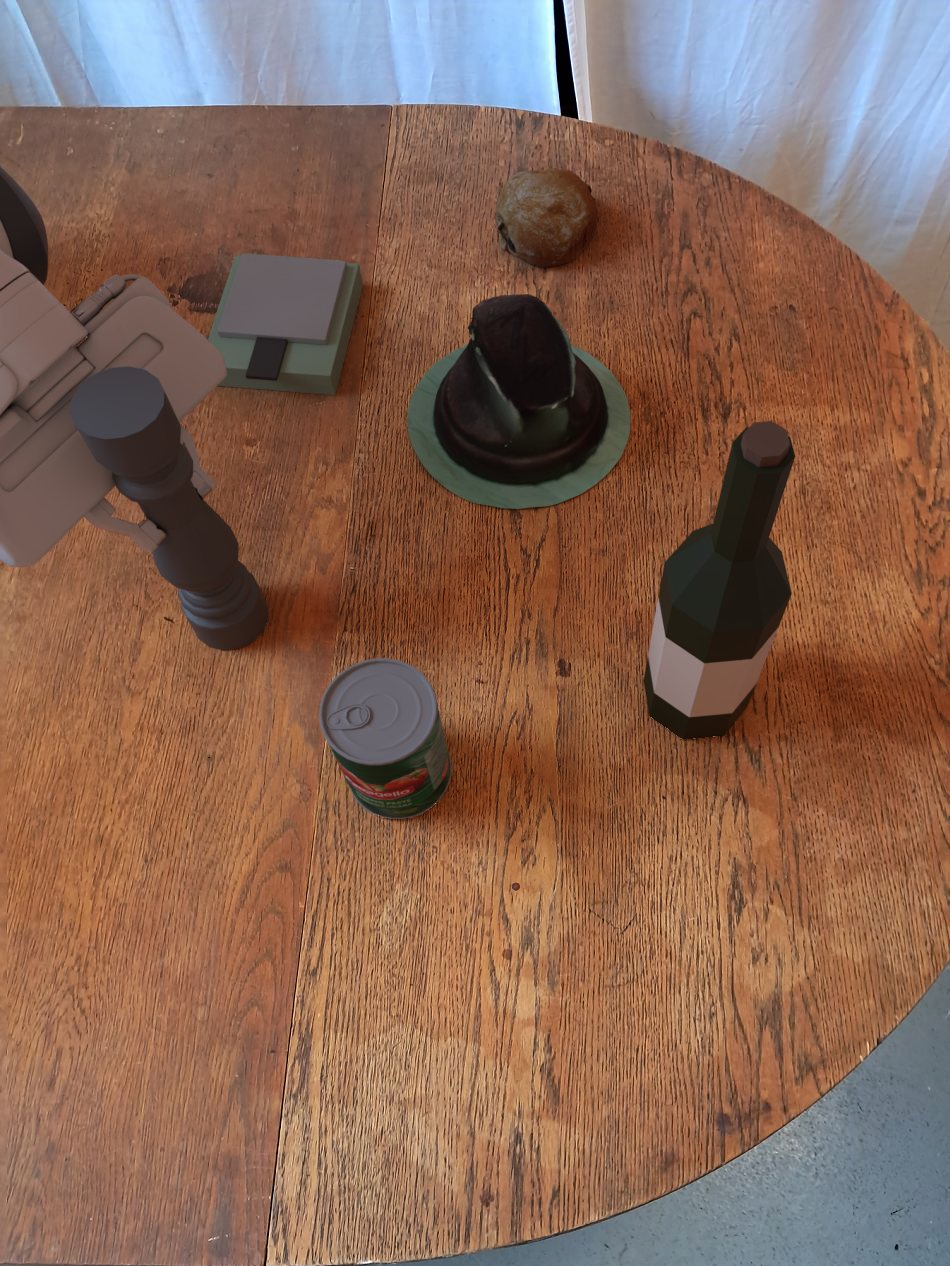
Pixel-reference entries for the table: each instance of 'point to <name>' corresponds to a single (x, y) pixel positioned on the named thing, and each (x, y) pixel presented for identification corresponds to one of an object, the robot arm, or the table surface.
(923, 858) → the table surface
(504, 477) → the black hat
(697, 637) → the wine bottle
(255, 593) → the candle holder
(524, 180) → the bread roll
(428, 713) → the canned tomato
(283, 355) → the scale
